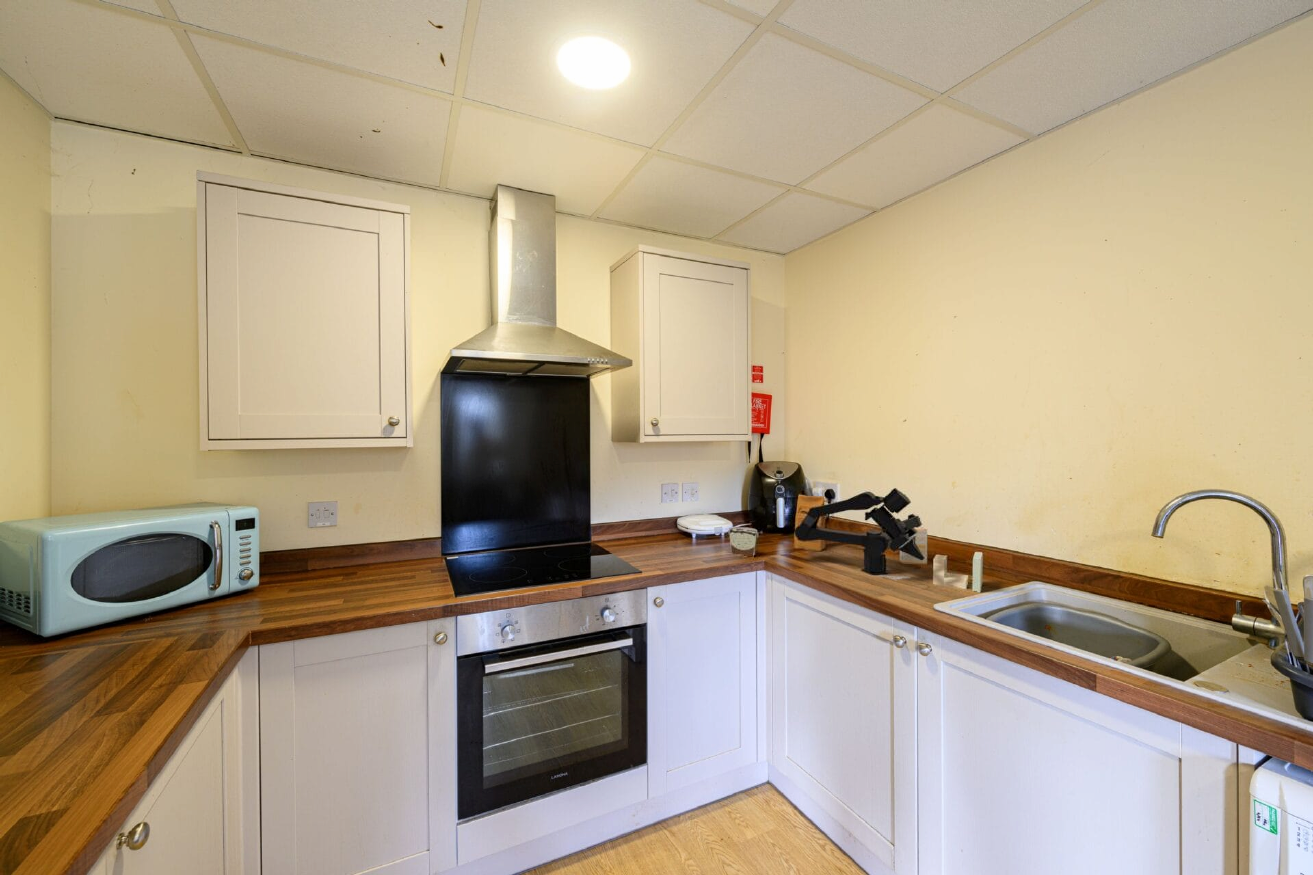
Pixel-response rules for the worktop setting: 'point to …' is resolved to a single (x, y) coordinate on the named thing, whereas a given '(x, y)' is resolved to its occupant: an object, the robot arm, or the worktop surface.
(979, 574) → the board
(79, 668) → the worktop surface
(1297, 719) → the worktop surface
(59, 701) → the worktop surface
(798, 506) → the coffee package
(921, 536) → the supplement box
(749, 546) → the food container
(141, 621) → the worktop surface
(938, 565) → the stepped block
